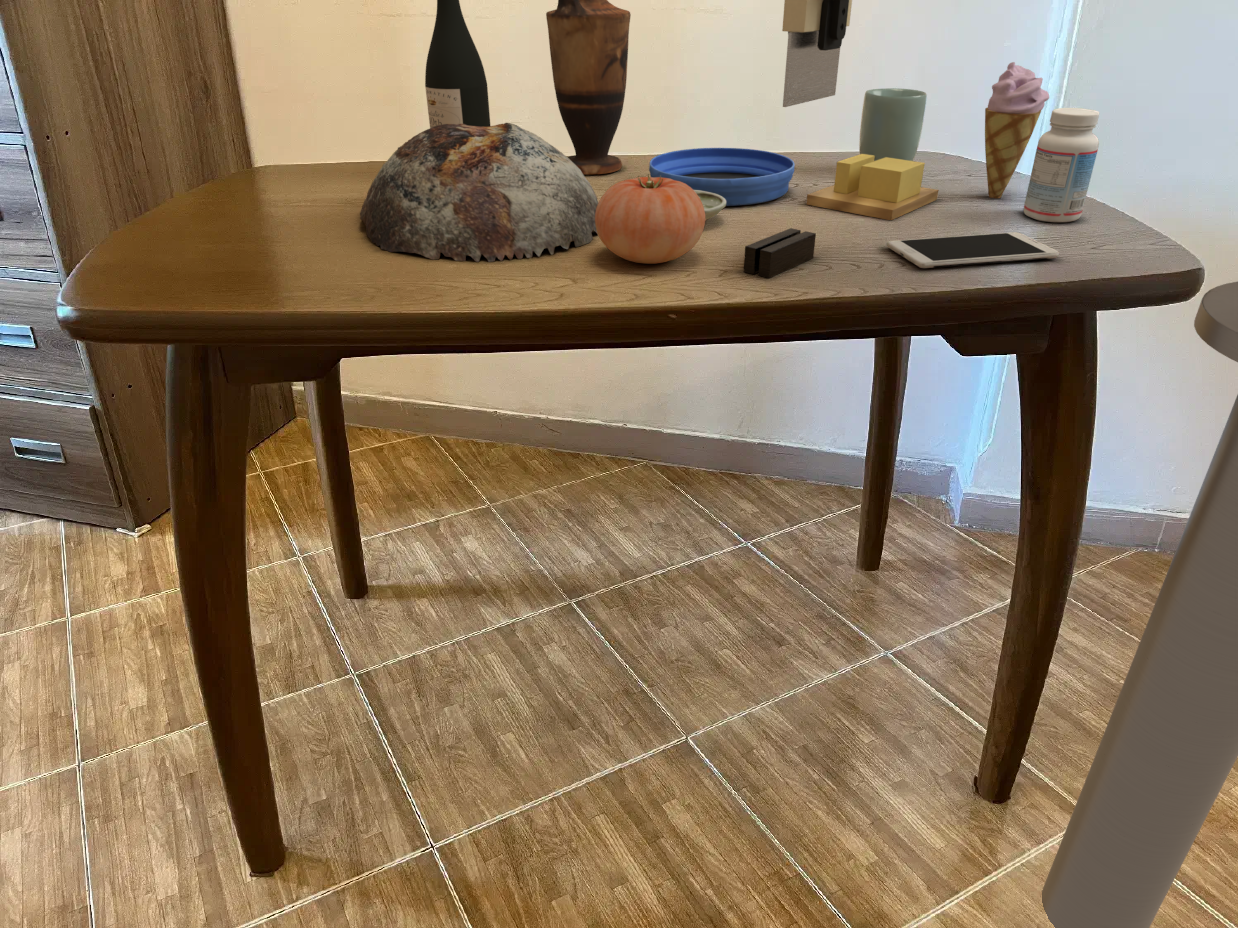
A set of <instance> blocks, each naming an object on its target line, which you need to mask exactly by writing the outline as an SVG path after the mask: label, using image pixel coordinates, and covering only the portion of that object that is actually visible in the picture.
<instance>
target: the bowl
mask: <svg viewBox="0 0 1238 928" xmlns="http://www.w3.org/2000/svg"><path fill="white" fill-rule="evenodd" d="M795 165H796V163H795V162H794V160H793V159H791V158H790V157H788V156H786V155H783V154H780V153H776V152H773V151H768V150H761V149H752V148H742V147H740V148H739V147H699V148H697V147H696V148H687V149H677V150H672V151H669V152H668V151H667V152H664V153H661V154H657V155H655V156H654V157H652V158H651V159H650V161H649V165H648V166H649V167H648V171H649V177H660V175H661V177H663V178H669V179H673V180H676V181H680V182H683V183H685V184H687V185H688V186H689V187H691V188H692V189H693V190H700V191H706V192H711V193H715V194H718V195H720V196H722V197H724V198H725V200H726V206H725V207H733V206H735V207H738V206H748V205H755V204H756V205H757V204H763V203H766V202H771V201H774V200H778V199H779V198H782V197H783V196H785V195H786V194H787V192H788V191H789V188H790V187H789V186H790V182H791V180H792V179H793V176H794V173H795Z"/></svg>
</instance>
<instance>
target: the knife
mask: <svg viewBox="0 0 1238 928" xmlns="http://www.w3.org/2000/svg"><path fill="white" fill-rule="evenodd" d="M822 2H823V0H784V1H783V3H784V4H783V16H782V29H781V31H782V32H787V35H788V36H787V47H786V59H785V60H786V61H785V71H784V86H783V97H782V108H787V107H792V106H796V105H799V104H804V103H808V102H813V101H817V100H821V99H824V98H829V97H833V96H836V93H837V92H836V90H837V82H838V72H839V64H840V54H841V47H840V48H837V49H832V50H826V51H825V50H819V48H818V46H817V45H818V34H819V29H820V19H821V8H822ZM852 5H853V0H849V6H848V16H847V25H846V27H850V23H851V15H852ZM788 32H789V33H788Z"/></svg>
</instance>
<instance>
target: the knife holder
mask: <svg viewBox="0 0 1238 928" xmlns="http://www.w3.org/2000/svg"><path fill="white" fill-rule="evenodd" d="M816 236H817V233H816V232H810V231H807V230H805V231H803V232H802V230H801V229H797V228H792V227H790V228H788V229H785V230H782V231H780V232H778V233H775V234H772V235H770V236H768V237H765V238H763V239H760V240H758V241H755V242H753V243H749V244H748V245H745V246H744V257H743V259H744V260H743V273H746V274H751V275H756V274H757V273H758V276H759V277H762V278H766V279H771V278H773V277H775V276H777V275H779V274H781V273H783V272H786V271H788V270H790V269H793V268H795V267H797V266H799V265H802V264H804V263H806V262H808V261H811V260H812V259H814V255H815V246H816V245H815V244H816V238H817V237H816Z"/></svg>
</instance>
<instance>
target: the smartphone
mask: <svg viewBox="0 0 1238 928" xmlns="http://www.w3.org/2000/svg"><path fill="white" fill-rule="evenodd" d="M886 247H887V248H889V249H890V250H891V251H894V252H895V253H896V254H898V255H899V256H901V257H903V258H904V259H906V260H907V261H909V262H911V263H912V264H914V265H916V267H918V268H920V269H933V268H946V267H959V266H960V267H961V266H971V265H985V264H998V263H1011V262H1012V263H1013V262H1023V261H1024V262H1025V261H1037V260H1038V261H1039V260H1050V259H1051V260H1052V259H1057V258H1058V257H1059V256H1060V252H1059V250H1057V249H1055V248H1052V247H1050V246H1048V245H1046V244H1044V243H1042V242H1040V241H1038V240H1035V239H1034V238H1031V237H1030V236H1027V235H1025V234H1023V233H1021V232H1016V231H1013V232H1010V231H1009V232H998V233H985V234H984V233H983V234H970V235H969V234H968V235H956V236H944V237H943V236H940V237H926V238H913V239H911V238H910V239H899V240H898V239H897V240H889V241H887V243H886Z"/></svg>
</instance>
